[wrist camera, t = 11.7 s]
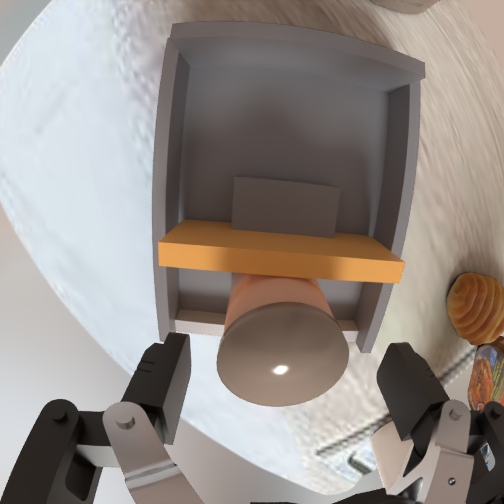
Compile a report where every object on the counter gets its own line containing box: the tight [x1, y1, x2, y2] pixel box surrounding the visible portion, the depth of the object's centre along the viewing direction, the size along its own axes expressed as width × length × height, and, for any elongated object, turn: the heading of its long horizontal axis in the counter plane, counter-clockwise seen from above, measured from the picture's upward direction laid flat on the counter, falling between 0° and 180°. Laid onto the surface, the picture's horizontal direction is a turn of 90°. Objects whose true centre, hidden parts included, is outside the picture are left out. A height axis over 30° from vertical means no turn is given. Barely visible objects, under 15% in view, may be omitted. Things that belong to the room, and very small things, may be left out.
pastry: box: [446, 272, 504, 345], centre depth 18 cm, size 9×7×4 cm
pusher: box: [158, 175, 405, 283], centre depth 15 cm, size 4×12×5 cm, turn 85°
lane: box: [152, 21, 425, 353], centre depth 15 cm, size 19×15×5 cm
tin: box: [468, 336, 504, 410], centre depth 20 cm, size 15×3×8 cm, turn 22°
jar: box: [217, 273, 349, 407], centre depth 15 cm, size 6×6×8 cm
